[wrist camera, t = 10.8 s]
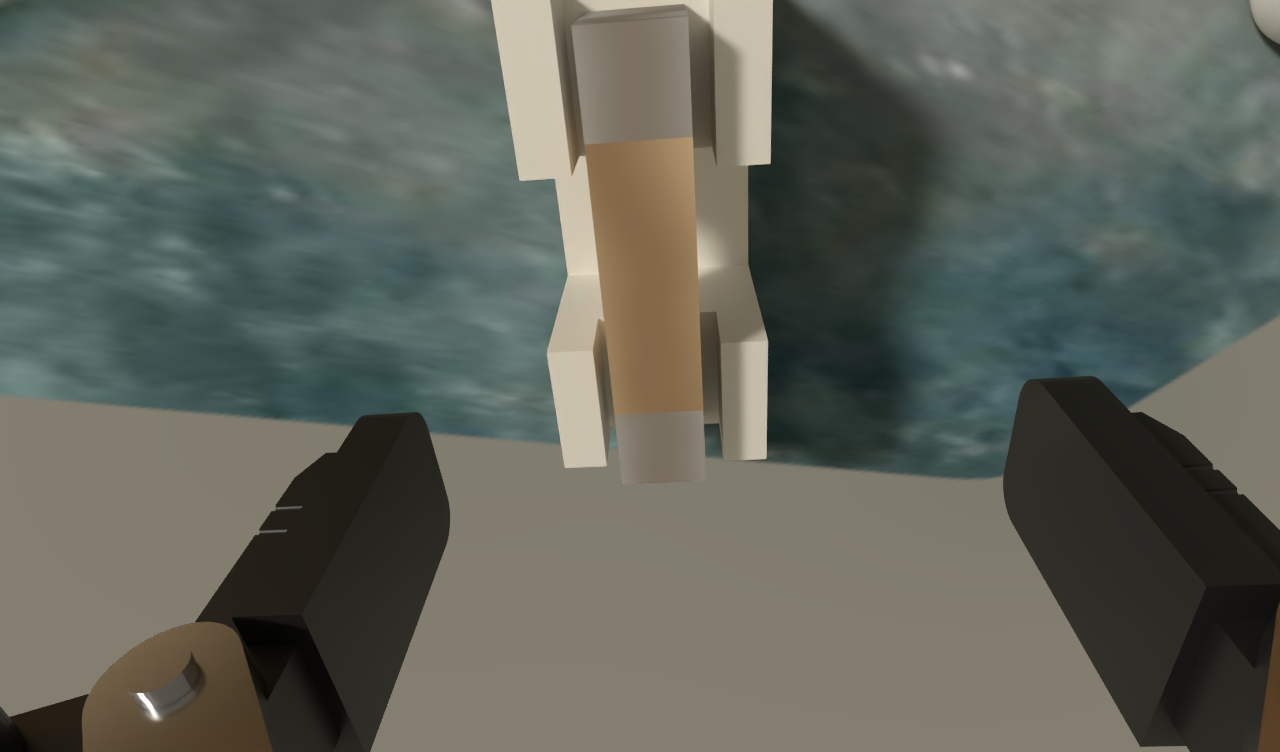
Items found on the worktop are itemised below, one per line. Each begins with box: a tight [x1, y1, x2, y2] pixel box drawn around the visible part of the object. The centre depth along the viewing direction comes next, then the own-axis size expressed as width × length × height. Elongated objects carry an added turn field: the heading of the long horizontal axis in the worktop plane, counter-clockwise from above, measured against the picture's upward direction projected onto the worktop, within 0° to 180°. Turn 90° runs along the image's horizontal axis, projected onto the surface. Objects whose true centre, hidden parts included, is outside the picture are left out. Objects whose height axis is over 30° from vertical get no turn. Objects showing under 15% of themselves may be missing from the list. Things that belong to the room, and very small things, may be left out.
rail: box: [571, 4, 706, 484], centre depth 25 cm, size 3×15×4 cm, turn 4°
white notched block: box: [491, 0, 773, 468], centre depth 28 cm, size 8×16×8 cm, turn 4°
